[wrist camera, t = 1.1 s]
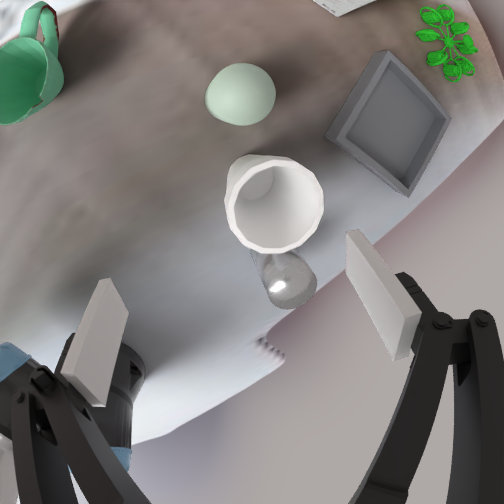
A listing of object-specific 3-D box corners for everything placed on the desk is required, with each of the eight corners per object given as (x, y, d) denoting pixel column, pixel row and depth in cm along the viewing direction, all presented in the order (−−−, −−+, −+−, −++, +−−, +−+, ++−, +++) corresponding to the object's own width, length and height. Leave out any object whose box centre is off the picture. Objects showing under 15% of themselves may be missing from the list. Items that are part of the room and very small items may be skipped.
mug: (74, 118, 30) (40, 123, 22) (16, 120, 28) (-25, 128, 19) (96, 14, 24) (70, -10, 16) (35, 21, 22) (-1, 6, 13)
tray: (395, 191, 44) (408, 197, 41) (324, 136, 38) (335, 139, 35) (437, 115, 39) (451, 118, 36) (374, 52, 33) (388, 50, 30)
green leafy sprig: (403, -5, 29) (430, -13, 23) (460, 17, 30) (486, 15, 24) (415, 75, 36) (444, 76, 30) (469, 87, 38) (496, 91, 32)
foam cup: (251, 128, 36) (280, 138, 25) (298, 174, 40) (341, 204, 29) (200, 181, 38) (206, 215, 27) (250, 223, 42) (275, 270, 31)
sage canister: (237, 129, 36) (255, 136, 26) (195, 107, 34) (197, 107, 24) (260, 89, 34) (287, 83, 24) (219, 67, 32) (230, 52, 22)
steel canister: (276, 270, 47) (299, 314, 37) (242, 256, 44) (258, 300, 35) (297, 238, 45) (326, 276, 35) (263, 222, 42) (286, 259, 33)
